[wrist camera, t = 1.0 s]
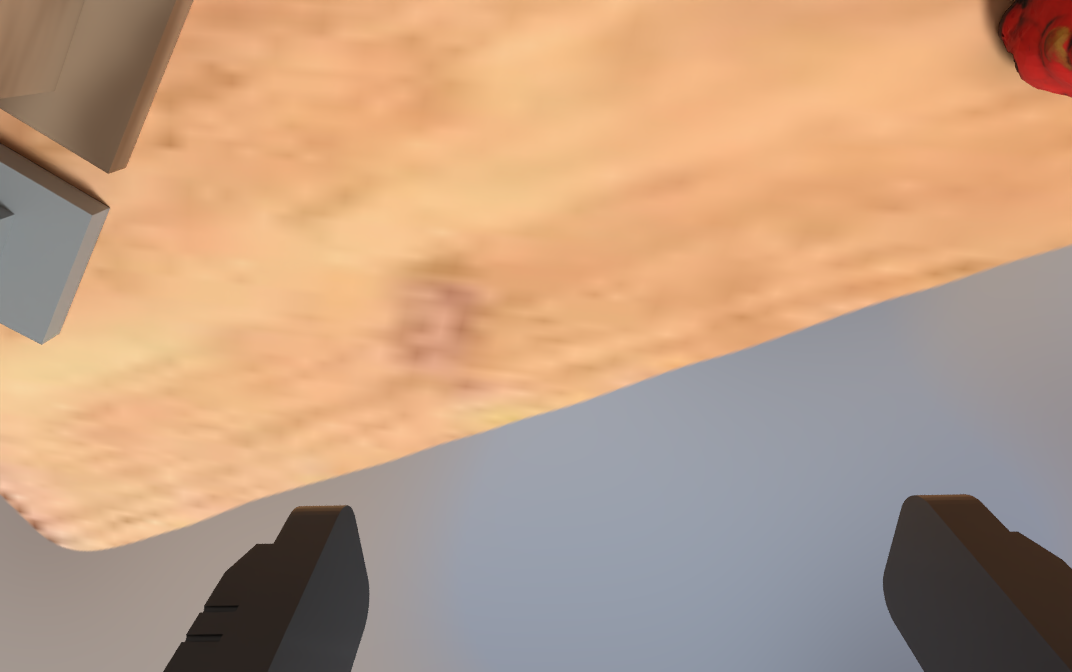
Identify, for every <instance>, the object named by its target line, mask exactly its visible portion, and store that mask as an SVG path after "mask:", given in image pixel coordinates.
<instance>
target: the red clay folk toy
mask: <svg viewBox="0 0 1072 672" xmlns="http://www.w3.org/2000/svg"><path fill="white" fill-rule="evenodd" d="M998 34H999V37H1000V39H1001V40H1002V41H1003V42H1004V44H1005V47H1006V49H1007V51H1008V52H1011V53H1012V54H1013V55H1014V62H1015V68H1016V70H1017V72H1018V73H1019V75H1020V77H1021V79H1022V80H1024V81H1025V82H1027V83H1028V84H1030V85H1031V86H1033V87H1035V88H1037V89H1041V90H1045V91H1049V92H1052V93H1056V94H1061V95H1066V96H1069V97H1072V0H1015V2H1014V3H1013V5H1012V6H1011V7H1010V8H1009V9H1008V10H1007V11H1006V12H1005V14H1004V15H1003V17H1002V19H1001V21H1000V25H999V31H998Z"/></svg>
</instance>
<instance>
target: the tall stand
mask: <svg viewBox="0 0 1072 672" xmlns="http://www.w3.org/2000/svg"><path fill="white" fill-rule="evenodd" d="M192 2H193V0H0V109H2V110H4V111H5V112H7V113H9V114H10V115H12V116H14V117H15V118H17V119H19V120H20V121H22V122H24V123H25V124H27V125H29V126H30V127H32V128H34V129H35V130H37V131H39V132H40V133H42V134H43V135H45V136H47V137H48V138H50V139H52V140H53V141H55V142H57V143H58V144H60V145H62V146H63V147H65V148H67V149H68V150H70V151H72V152H73V153H75V154H77V155H78V156H80V157H82V158H83V159H85V160H86V161H88V162H90V163H91V164H93V165H95V166H96V167H98V168H100V169H101V170H103V171H105V172H106V173H108V174H109V173H112V172H115V171H117V170H120V169H123V168H126V166H127V163H128V161H129V158H130V156H131V153H132V151H133V148H134V146H135V143H136V141H137V138H138V136H139V134H140V131H141V129H142V126H143V124H144V121H145V119H146V116H147V114H148V111H149V109H150V106H151V104H152V101H153V99H154V96H155V94H156V91H157V89H158V86H159V84H160V81H161V79H162V76H163V74H164V72H165V69H166V67H167V64H168V62H169V59H170V57H171V54H172V52H173V49H174V47H175V44H176V42H177V39H178V37H179V34H180V32H181V29H182V27H183V24H184V22H185V19H186V17H187V14H188V12H189V9H190V7H191V5H192Z"/></svg>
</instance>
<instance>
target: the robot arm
mask: <svg viewBox="0 0 1072 672" xmlns="http://www.w3.org/2000/svg"><path fill="white" fill-rule="evenodd" d="M883 590H884V596H885V601H886V605H887V607H888V610H889V613H890V615H891V618H892V619H893V621H894V623H895V625H896V626H897V628H898V630H899V631H900V633H901V635H902V636H903V638H904V639H905V641H906V642H907V644H908V646H909V648H910V649H911V651H912V652H913V654H914V656H915V657H916V659H917V660H918V662H919V664H920V666H921V667H922V669H923V670H924V672H1072V569H1071V568H1070V567H1069V566H1068V565H1067V564H1066V563H1065V562H1064V561H1063V560H1062V559H1060V558H1059V557H1057V556H1055V555H1054V554H1052V553H1051V552H1049V551H1048V550H1046V549H1044V548H1043V547H1041V546H1040V545H1038V544H1037V543H1035V542H1033V541H1032V540H1030V539H1029V538H1027V537H1026V536H1024V535H1022V534H1021V533H1019V532H1010V531H1009V530H1008V529H1007V528H1006V527H1005V526H1004V525H1003V524H1002V523H1001V522H1000V521H999V520H998V519H997V518H996V517H995V516H994V515H993V514H992V513H991V512H990V511H989V510H988V509H987V508H986V507H985V506H984V505H983V504H982V503H981V502H980V501H979V500H978V499H976V498H975V497H973V496H970V495H966V494H960V495H914V496H910V497H908V498H907V499H906V500H905V501H904V503H903V505H902V508H901V512H900V515H899V519H898V523H897V526H896V530H895V534H894V537H893V542H892V545H891V549H890V552H889V556H888V560H887V564H886V568H885V571H884V576H883ZM368 608H369V582H368V576H367V572H366V567H365V562H364V557H363V553H362V548H361V543H360V538H359V533H358V528H357V524H356V519H355V515H354V512H353V510H352V508H351V507H350V506H348V505H344V506H299V507H296V508H295V509H294V510H293V511H292V512H291V514H290V515H289V517H288V519H287V521H286V522H285V524H284V526H283V528H282V530H281V532H280V533H279V535H278V537H277V539H276V540H275V542H274V544H256V545H255V546H254V547H253V548H252V549H251V550H249V551H248V552H247V553H246V554H245V555H244V556H243V557H242V558H241V559H239V560H238V561H237V562H236V563H235V564H234V565H233V566H232V567H230V568H229V569H228V570H227V571H226V572H225V573H224V575H223V577H222V578H221V580H220V581H219V583H218V584H217V586H216V588H215V589H214V591H213V593H212V594H211V596H210V597H209V599H208V601H207V602H206V604H205V605H204V612H203V613H199V615H198V617H197V618H196V620H195V621H194V623H193V625H192V626H191V628H190V629H189V631H188V633H187V634H186V635H187V638H186V641H185V642H181V644H180V646H179V647H178V649H177V650H176V652H175V654H174V655H173V657H172V659H171V660H170V662H169V663H168V665H167V666H166V668H165V670H164V671H163V672H351V669H352V666H353V662H354V660H355V656H356V653H357V650H358V647H359V644H360V641H361V637H362V634H363V631H364V628H365V624H366V620H367V614H368Z"/></svg>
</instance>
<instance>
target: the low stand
mask: <svg viewBox="0 0 1072 672" xmlns="http://www.w3.org/2000/svg"><path fill="white" fill-rule="evenodd" d="M109 209H110V208H109V207H107V206H106V205H104V204H102V203H101V202H99V201H97V200H96V199H94V198H92V197H90V196H89V195H87V194H85V193H84V192H82V191H80V190H79V189H77V188H75V187H74V186H72V185H70V184H68V183H67V182H65V181H63V180H62V179H60V178H58V177H57V176H55V175H53V174H52V173H50V172H48V171H46V170H45V169H43V168H41V167H40V166H38V165H36V164H35V163H33V162H31V161H30V160H28V159H26V158H24V157H23V156H21V155H19V154H18V153H16V152H14V151H13V150H11V149H9V148H7V147H6V146H4V145H2V144H1V143H0V323H1V324H3V325H5V326H6V327H8V328H10V329H12V330H14V331H16V332H18V333H20V334H22V335H24V336H26V337H28V338H30V339H32V340H34V341H35V342H37V343H39V344H41V345H42V344H44V343H45V342H47V341H48V340H50V339H52V338H53V337H55V336H56V335H58V334H59V333H60V331H61V328H62V326H63V323H64V321H65V318H66V316H67V313H68V311H69V308H70V306H71V303H72V301H73V298H74V296H75V293H76V291H77V288H78V286H79V283H80V281H81V279H82V276H83V274H84V271H85V269H86V266H87V264H88V261H89V259H90V256H91V254H92V251H93V249H94V246H95V244H96V241H97V239H98V236H99V234H100V231H101V229H102V226H103V224H104V221H105V219H106V217H107V214H108V212H109Z"/></svg>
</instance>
